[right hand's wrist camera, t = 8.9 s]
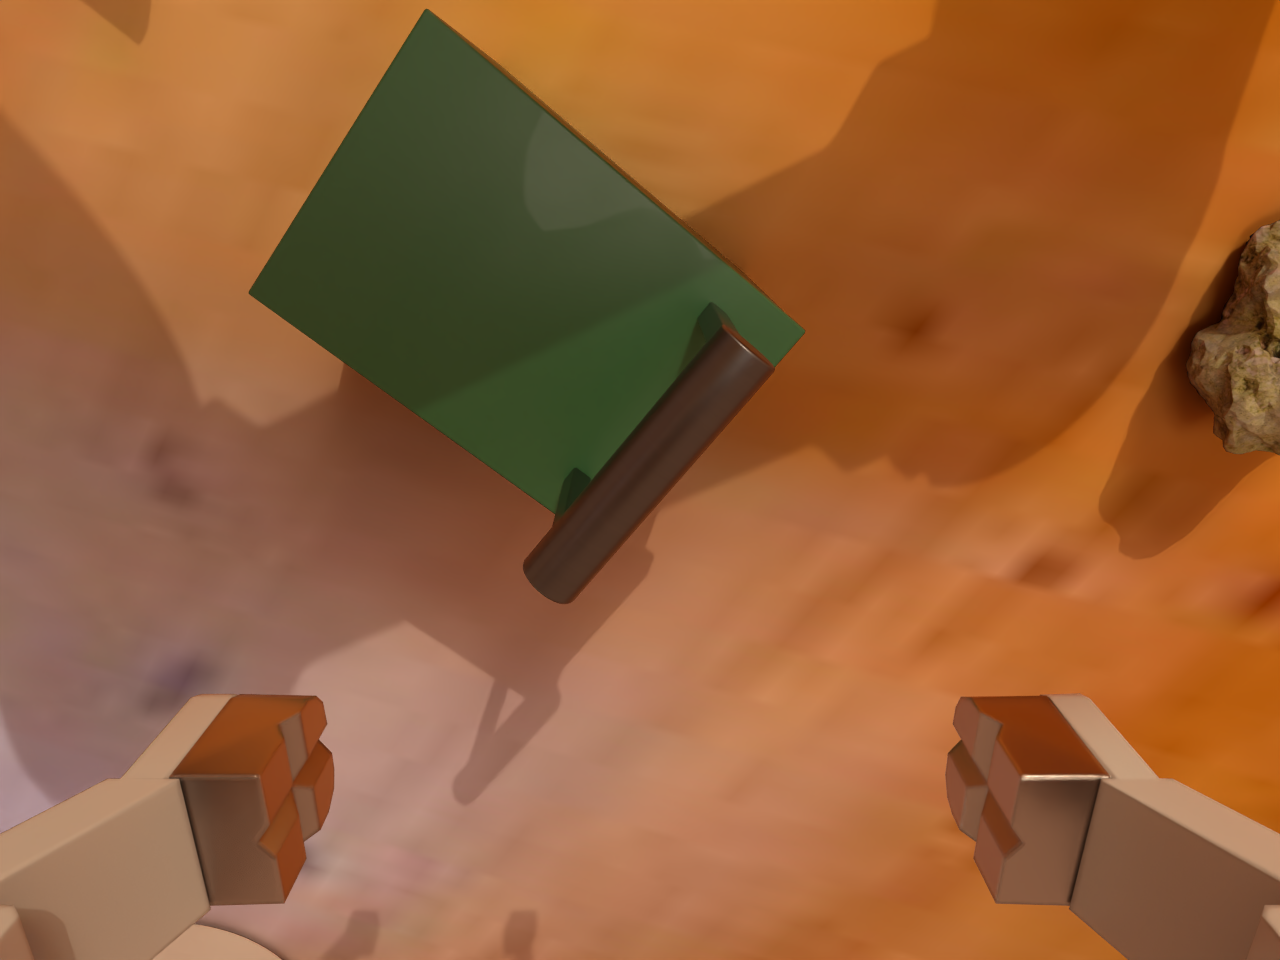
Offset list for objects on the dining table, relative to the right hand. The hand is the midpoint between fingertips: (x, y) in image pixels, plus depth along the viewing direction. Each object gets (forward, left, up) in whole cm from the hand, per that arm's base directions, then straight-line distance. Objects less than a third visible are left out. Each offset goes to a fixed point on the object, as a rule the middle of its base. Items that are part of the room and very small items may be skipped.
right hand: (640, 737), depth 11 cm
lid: (-2, +4, -17) cm, 18 cm away
